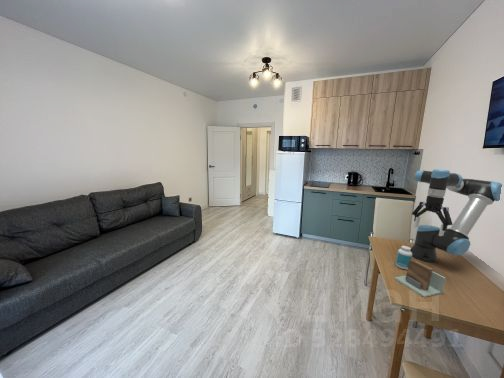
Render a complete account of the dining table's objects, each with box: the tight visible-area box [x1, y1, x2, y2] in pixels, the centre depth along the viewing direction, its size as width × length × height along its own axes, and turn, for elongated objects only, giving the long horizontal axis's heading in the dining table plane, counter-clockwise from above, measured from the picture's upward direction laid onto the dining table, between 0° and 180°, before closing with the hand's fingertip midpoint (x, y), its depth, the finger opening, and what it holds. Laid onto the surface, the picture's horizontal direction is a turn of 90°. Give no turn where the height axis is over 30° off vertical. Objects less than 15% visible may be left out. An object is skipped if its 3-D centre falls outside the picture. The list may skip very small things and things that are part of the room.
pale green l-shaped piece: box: [393, 270, 446, 298], centre depth 115 cm, size 14×16×9 cm
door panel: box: [406, 258, 434, 291], centre depth 114 cm, size 3×10×12 cm, turn 18°
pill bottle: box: [395, 245, 413, 270], centre depth 134 cm, size 8×7×14 cm
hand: (427, 231), depth 125 cm, fingers open, 13 cm apart
